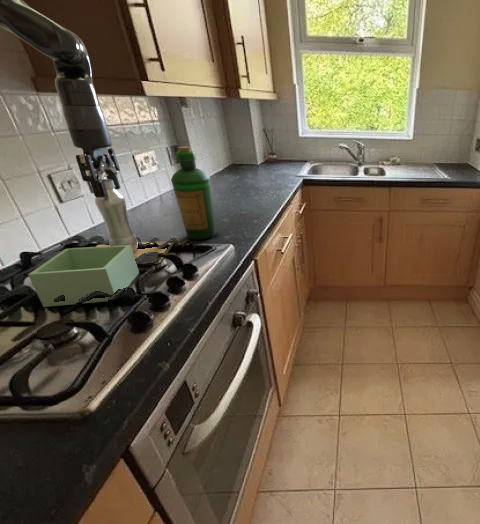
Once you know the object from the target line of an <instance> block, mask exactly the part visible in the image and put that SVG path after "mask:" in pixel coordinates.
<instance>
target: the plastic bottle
mask: <svg viewBox="0 0 480 524" xmlns="http://www.w3.org/2000/svg"><path fill="white" fill-rule="evenodd" d="M101 182H102V183H103V187H104V190H105V193H106V196H105V197H95V199H94V203H95V205H96V207H97V209H98V211H99V213H100V215H101V217H102V219H103V222H104V225H105V227H106V232H107V237H108V244H109V245H110V246H121V245H131V247H132V251H135V250H137V248H138V243H139V241H138V238H137V236H136V235H135V233H134V230H133V228H132V225H131V223H130V220H129V216H128V209H127V202H126V198H125V197H124V195H123V194H121V193H120V192H119V191H118V190H117V189H115V188H114V187H115V185H114V182H113V180H111V179H107V178H103V179H101Z"/></svg>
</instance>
